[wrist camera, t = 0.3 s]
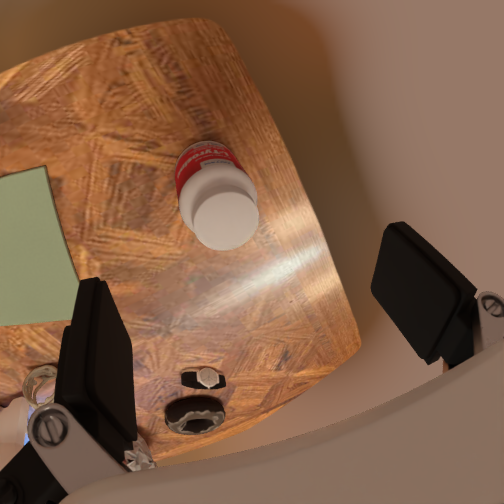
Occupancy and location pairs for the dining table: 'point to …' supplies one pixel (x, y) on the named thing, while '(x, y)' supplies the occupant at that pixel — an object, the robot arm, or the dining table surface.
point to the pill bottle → (216, 196)
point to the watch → (203, 379)
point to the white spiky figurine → (12, 429)
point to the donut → (194, 416)
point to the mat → (33, 253)
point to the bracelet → (30, 378)
